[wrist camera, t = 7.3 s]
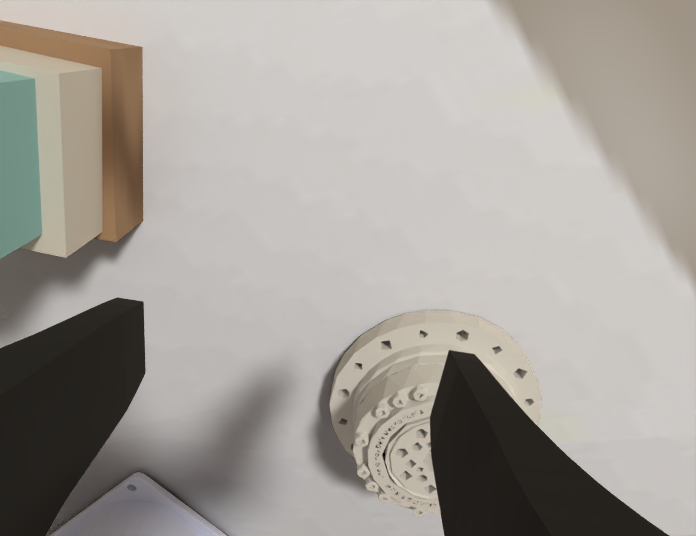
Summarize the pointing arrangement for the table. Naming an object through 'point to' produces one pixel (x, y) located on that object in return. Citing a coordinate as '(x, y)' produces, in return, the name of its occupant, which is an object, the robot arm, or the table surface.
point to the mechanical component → (414, 396)
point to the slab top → (65, 148)
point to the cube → (18, 163)
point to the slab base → (103, 114)
